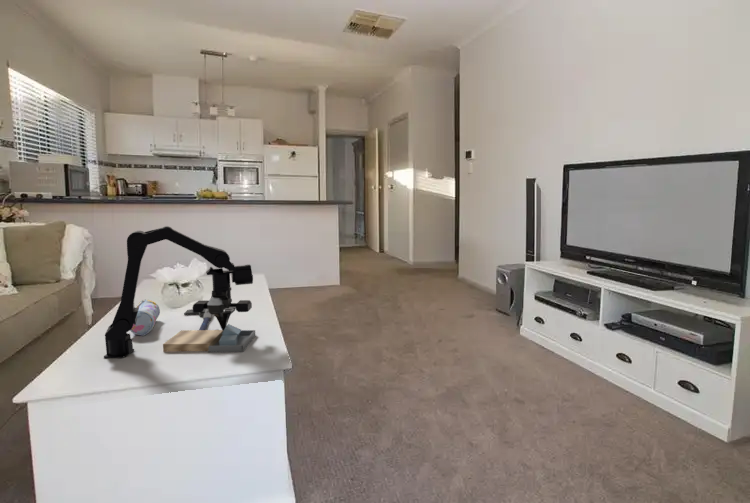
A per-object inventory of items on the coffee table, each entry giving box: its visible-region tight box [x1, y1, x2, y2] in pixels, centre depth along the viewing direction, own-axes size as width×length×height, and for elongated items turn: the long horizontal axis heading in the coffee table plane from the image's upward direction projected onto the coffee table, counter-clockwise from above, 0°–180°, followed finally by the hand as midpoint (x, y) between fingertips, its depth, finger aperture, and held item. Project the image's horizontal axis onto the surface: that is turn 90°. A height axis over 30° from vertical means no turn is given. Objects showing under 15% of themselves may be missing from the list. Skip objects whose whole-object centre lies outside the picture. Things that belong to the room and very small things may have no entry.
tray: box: [207, 329, 256, 353], centre depth 148 cm, size 11×16×2 cm
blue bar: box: [183, 308, 214, 330], centre depth 172 cm, size 34×2×12 cm
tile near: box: [219, 335, 238, 346], centre depth 145 cm, size 5×5×2 cm
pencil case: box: [130, 299, 161, 336], centre depth 165 cm, size 21×9×10 cm, turn 21°
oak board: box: [162, 329, 224, 353], centre depth 148 cm, size 15×14×2 cm
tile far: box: [222, 323, 242, 337], centre depth 152 cm, size 5×5×2 cm
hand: (223, 330), depth 151 cm, fingers closed
